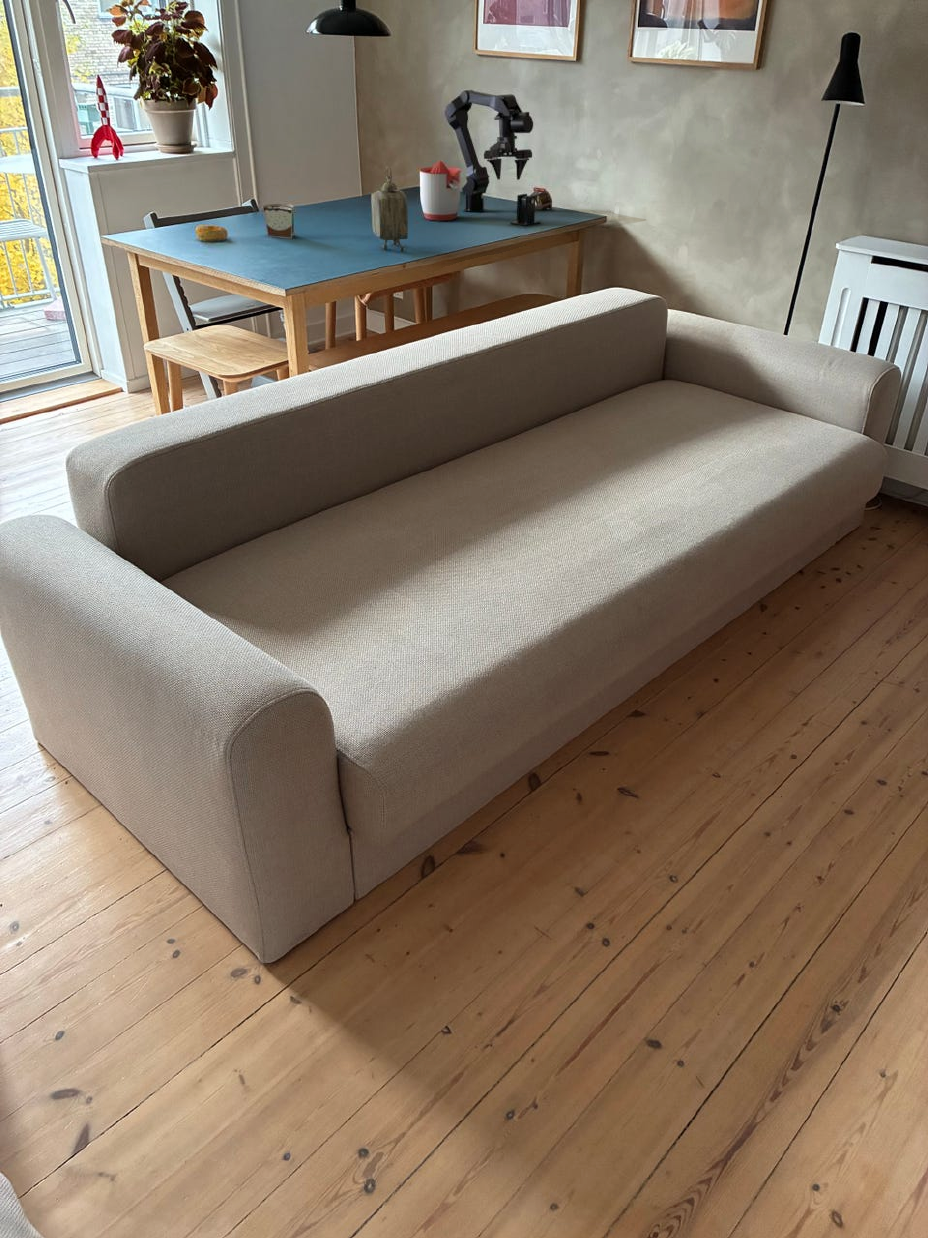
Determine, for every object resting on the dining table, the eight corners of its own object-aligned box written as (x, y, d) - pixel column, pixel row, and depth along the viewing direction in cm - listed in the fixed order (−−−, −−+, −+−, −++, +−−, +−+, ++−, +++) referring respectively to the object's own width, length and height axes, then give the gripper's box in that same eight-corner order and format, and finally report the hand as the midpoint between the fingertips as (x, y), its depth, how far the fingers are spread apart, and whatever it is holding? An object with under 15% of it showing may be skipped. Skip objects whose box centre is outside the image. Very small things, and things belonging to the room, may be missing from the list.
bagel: (218, 243, 322) (216, 228, 319) (190, 240, 325) (188, 225, 322) (234, 237, 330) (232, 223, 327) (207, 235, 333) (205, 220, 330)
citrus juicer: (440, 224, 350) (440, 165, 339) (411, 217, 361) (410, 160, 350) (472, 219, 359) (473, 161, 348) (442, 212, 370) (442, 156, 359)
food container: (303, 235, 334) (301, 204, 328) (295, 238, 329) (293, 207, 324) (272, 232, 337) (269, 202, 332) (264, 235, 332) (261, 205, 327)
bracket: (525, 222, 356) (526, 192, 350) (540, 224, 352) (541, 194, 346) (510, 225, 350) (511, 195, 344) (524, 228, 346) (526, 197, 340)
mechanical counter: (555, 198, 368) (554, 188, 375) (522, 194, 367) (522, 184, 374) (552, 216, 373) (551, 206, 380) (519, 213, 372) (520, 202, 379)
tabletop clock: (408, 252, 311) (406, 169, 297) (381, 254, 309) (378, 170, 295) (398, 243, 323) (396, 163, 309) (372, 245, 321) (368, 164, 307)
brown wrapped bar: (536, 191, 352) (534, 184, 350) (546, 192, 349) (545, 186, 347) (519, 204, 348) (518, 198, 346) (529, 206, 345) (528, 199, 343)
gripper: (473, 135, 350) (475, 181, 358) (514, 134, 339) (516, 182, 347) (491, 132, 357) (493, 178, 365) (532, 132, 347) (533, 178, 355)
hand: (508, 179), depth 358 cm, fingers open, 9 cm apart
